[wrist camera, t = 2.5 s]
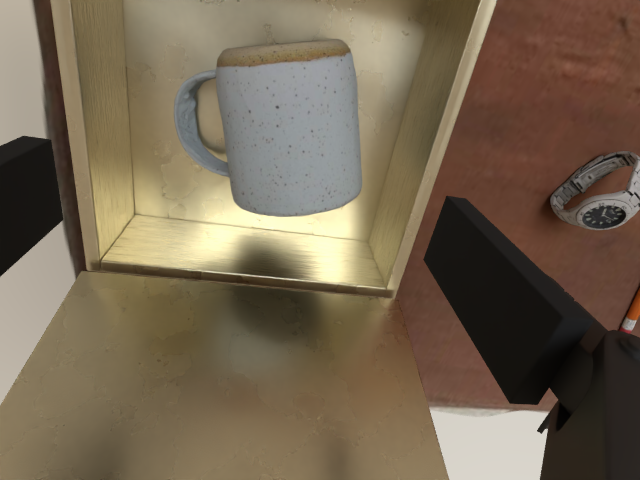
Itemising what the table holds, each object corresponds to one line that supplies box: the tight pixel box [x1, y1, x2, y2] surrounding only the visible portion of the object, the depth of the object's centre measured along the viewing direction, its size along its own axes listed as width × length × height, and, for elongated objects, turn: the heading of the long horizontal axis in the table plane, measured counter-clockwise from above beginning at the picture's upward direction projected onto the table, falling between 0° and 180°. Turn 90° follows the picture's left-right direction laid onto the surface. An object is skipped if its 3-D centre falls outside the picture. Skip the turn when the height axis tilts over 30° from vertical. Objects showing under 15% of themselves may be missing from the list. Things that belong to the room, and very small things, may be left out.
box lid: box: [0, 271, 449, 480], centre depth 17 cm, size 19×19×5 cm
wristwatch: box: [550, 151, 640, 230], centre depth 27 cm, size 4×6×5 cm, turn 140°
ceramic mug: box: [174, 39, 362, 217], centre depth 21 cm, size 11×8×8 cm
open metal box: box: [50, 0, 497, 299], centre depth 22 cm, size 18×19×7 cm
